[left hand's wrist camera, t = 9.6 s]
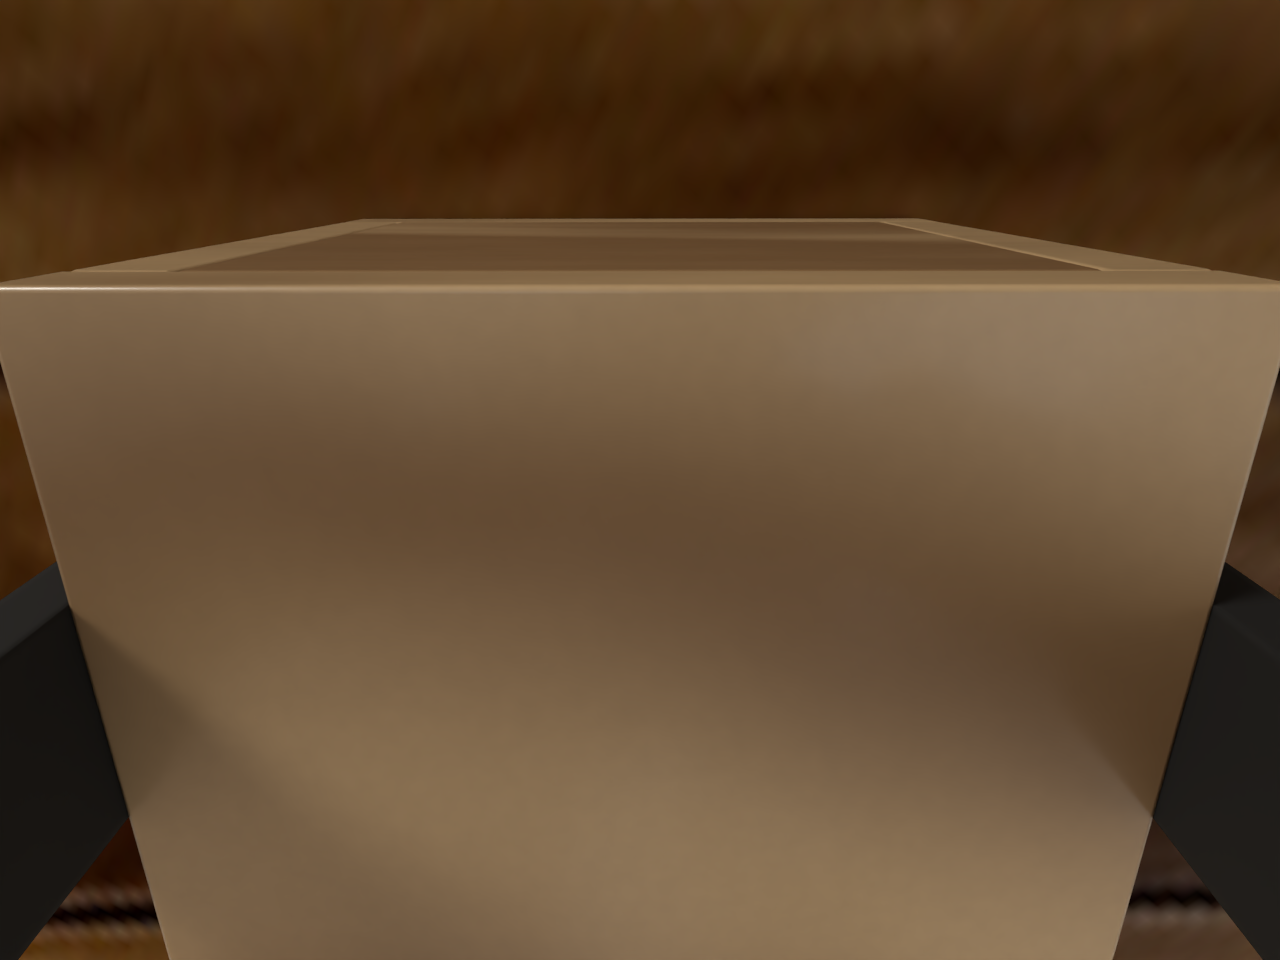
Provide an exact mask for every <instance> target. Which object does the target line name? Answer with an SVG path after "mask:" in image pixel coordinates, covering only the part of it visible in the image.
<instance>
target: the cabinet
mask: <svg viewBox="0 0 1280 960" xmlns="http://www.w3.org/2000/svg"><path fill="white" fill-rule="evenodd" d="M0 362H1V366H2V369H3V373H4V376H5V380H6V383H7V387H8V391H9V394H10V398H11V401H12V405H13V408H14V412H15V415H16V419H17V422H18V426H19V429H20V433H21V436H22V440H23V444H24V447H25V451H26V454H27V458H28V461H29V465H30V468H31V472H32V475H33V479H34V482H35V486H36V489H37V493H38V497H39V500H40V504H41V507H42V511H43V514H44V518H45V521H46V525H47V528H48V532H49V535H50V539H51V542H52V546H53V550H54V553H55V557H56V560H57V564H58V567H59V571H60V574H61V578H62V581H63V585H64V588H65V592H66V595H67V599H68V603H69V606H70V610H71V613H72V617H73V620H74V624H75V627H76V631H77V634H78V638H79V641H80V645H81V648H82V652H83V656H84V659H85V663H86V666H87V670H88V673H89V677H90V680H91V684H92V687H93V691H94V694H95V698H96V701H97V705H98V709H99V712H100V716H101V719H102V723H103V726H104V730H105V733H106V737H107V740H108V744H109V747H110V751H111V754H112V758H113V762H114V765H115V769H116V772H117V776H118V779H119V783H120V786H121V790H122V793H123V797H124V800H125V804H126V807H127V811H128V815H129V818H130V822H131V825H132V829H133V832H134V836H135V839H136V843H137V846H138V850H139V853H140V857H141V860H142V864H143V868H144V871H145V875H146V878H147V882H148V885H149V889H150V892H151V896H152V899H153V903H154V906H155V910H156V913H157V917H158V921H159V924H160V928H161V931H162V935H163V938H164V942H165V945H166V949H167V952H168V956H169V959H170V960H1113V957H1114V953H1115V950H1116V946H1117V943H1118V939H1119V936H1120V932H1121V929H1122V925H1123V921H1124V918H1125V914H1126V911H1127V907H1128V904H1129V900H1130V897H1131V893H1132V890H1133V886H1134V882H1135V879H1136V875H1137V872H1138V868H1139V865H1140V861H1141V858H1142V854H1143V850H1144V847H1145V843H1146V840H1147V836H1148V833H1149V829H1150V826H1151V822H1152V819H1153V815H1154V811H1155V808H1156V804H1157V801H1158V797H1159V794H1160V790H1161V787H1162V783H1163V779H1164V776H1165V772H1166V769H1167V765H1168V762H1169V758H1170V755H1171V751H1172V748H1173V744H1174V740H1175V737H1176V733H1177V730H1178V726H1179V723H1180V719H1181V716H1182V712H1183V708H1184V705H1185V701H1186V698H1187V694H1188V691H1189V687H1190V684H1191V680H1192V677H1193V673H1194V669H1195V666H1196V662H1197V659H1198V655H1199V652H1200V648H1201V645H1202V641H1203V637H1204V634H1205V630H1206V627H1207V623H1208V620H1209V616H1210V613H1211V609H1212V606H1213V602H1214V598H1215V595H1216V591H1217V588H1218V584H1219V581H1220V577H1221V574H1222V570H1223V566H1224V563H1225V559H1226V556H1227V552H1228V549H1229V545H1230V542H1231V538H1232V535H1233V531H1234V527H1235V524H1236V520H1237V517H1238V513H1239V510H1240V506H1241V503H1242V499H1243V495H1244V492H1245V488H1246V485H1247V481H1248V478H1249V474H1250V471H1251V467H1252V464H1253V460H1254V456H1255V453H1256V449H1257V446H1258V442H1259V439H1260V435H1261V432H1262V428H1263V424H1264V421H1265V417H1266V414H1267V410H1268V407H1269V403H1270V400H1271V396H1272V393H1273V389H1274V385H1275V382H1276V378H1277V375H1278V371H1279V368H1280V281H1276V280H1270V279H1264V278H1259V277H1253V276H1247V275H1241V274H1236V273H1230V272H1224V271H1211V270H1209V269H1205V268H1200V267H1194V266H1188V265H1182V264H1177V263H1171V262H1165V261H1159V260H1154V259H1148V258H1142V257H1136V256H1131V255H1125V254H1119V253H1113V252H1108V251H1102V250H1096V249H1090V248H1085V247H1079V246H1073V245H1067V244H1062V243H1056V242H1050V241H1044V240H1039V239H1033V238H1027V237H1021V236H1015V235H1010V234H1004V233H998V232H992V231H987V230H981V229H975V228H969V227H964V226H958V225H952V224H946V223H941V222H935V221H930V220H924V219H918V218H899V219H361V220H355V221H349V222H345V223H339V224H333V225H328V226H322V227H316V228H311V229H305V230H299V231H293V232H288V233H282V234H276V235H271V236H265V237H259V238H254V239H248V240H242V241H237V242H231V243H225V244H219V245H214V246H208V247H202V248H197V249H191V250H185V251H180V252H174V253H168V254H163V255H157V256H151V257H145V258H140V259H134V260H128V261H123V262H117V263H111V264H106V265H100V266H94V267H89V268H83V269H77V270H74V271H72V272H58V273H52V274H46V275H41V276H35V277H29V278H23V279H18V280H12V281H6V282H1V283H0Z"/></svg>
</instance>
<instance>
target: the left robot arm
mask: <svg viewBox="0 0 1280 960" xmlns="http://www.w3.org/2000/svg"><path fill="white" fill-rule="evenodd" d="M128 817H129V815H128V811H127V807H126V804H125V800H124V797H123V793H122V790H121V786H120V783H119V779H118V776H117V772H116V769H115V765H114V762H113V758H112V754H111V751H110V747H109V744H108V740H107V737H106V733H105V730H104V726H103V723H102V719H101V716H100V712H99V709H98V705H97V701H96V698H95V694H94V691H93V687H92V684H91V680H90V677H89V673H88V670H87V666H86V663H85V659H84V656H83V652H82V648H81V645H80V641H79V638H78V634H77V631H76V627H75V624H74V620H73V617H72V613H71V610H70V606H69V603H68V599H67V595H66V592H65V588H64V585H63V581H62V578H61V574H60V571H59V567H58V564H57V562H55V563H54V564H52V565H51V566H49V567H48V568H47V569H45V570H44V571H42V572H41V573H39V574H38V575H36V576H35V577H34V578H32V579H31V580H29V581H28V582H26V583H25V584H23V585H22V586H21V587H19V588H18V589H16V590H15V591H13V592H12V593H10V594H9V595H8V596H6V597H5V598H3V599H2V600H0V960H18V959H19V958H20V956H21V955H22V954H23V953H24V951H25V950H26V949H27V947H28V946H29V945H30V944H31V942H32V941H33V940H34V938H35V937H36V936H37V935H38V933H39V932H40V931H41V929H42V928H43V927H44V925H45V924H46V923H47V922H48V920H49V919H50V918H51V916H52V915H53V914H54V913H55V911H56V910H57V909H58V907H59V906H60V905H61V904H62V902H63V901H64V900H65V898H66V897H67V896H68V895H69V893H70V892H71V891H72V889H73V888H74V887H75V885H76V884H77V883H78V882H79V880H80V879H81V878H82V876H83V875H84V874H85V873H86V871H87V870H88V869H89V867H90V866H91V865H92V864H93V862H94V861H95V860H96V858H97V857H98V856H99V855H100V853H101V852H102V851H103V849H104V848H105V847H106V846H107V844H108V843H109V842H110V840H111V839H112V838H113V836H114V835H115V834H116V833H117V831H118V830H119V829H120V827H121V826H122V825H123V824H124V822H125V821H126V820H127V818H128ZM1153 818H1154V820H1155V821H1156V822H1157V824H1158V825H1159V826H1160V828H1161V829H1162V830H1163V831H1164V833H1165V834H1166V835H1167V837H1168V838H1169V839H1170V840H1171V842H1172V843H1173V844H1174V846H1175V847H1176V848H1177V849H1178V851H1179V852H1180V853H1181V855H1182V856H1183V857H1184V858H1185V860H1186V861H1187V862H1188V864H1189V865H1190V866H1191V867H1192V869H1193V870H1194V871H1195V873H1196V874H1197V875H1198V877H1199V878H1200V879H1201V880H1202V882H1203V883H1204V884H1205V886H1206V887H1207V888H1208V889H1209V891H1210V892H1211V893H1212V895H1213V896H1214V897H1215V898H1216V900H1217V901H1218V902H1219V904H1220V905H1221V906H1222V907H1223V909H1224V910H1225V911H1226V913H1227V914H1228V915H1229V916H1230V918H1231V919H1232V920H1233V922H1234V923H1235V924H1236V925H1237V927H1238V928H1239V929H1240V931H1241V932H1242V933H1243V935H1244V936H1245V937H1246V938H1247V940H1248V941H1249V942H1250V944H1251V945H1252V946H1253V947H1254V949H1255V950H1256V951H1257V953H1258V954H1259V955H1260V956H1261V958H1262V959H1263V960H1280V600H1279V599H1278V598H1276V597H1275V596H1274V595H1272V594H1271V593H1269V592H1268V591H1266V590H1265V589H1263V588H1262V587H1261V586H1259V585H1258V584H1256V583H1255V582H1253V581H1252V580H1250V579H1249V578H1248V577H1246V576H1245V575H1243V574H1242V573H1240V572H1239V571H1237V570H1236V569H1234V568H1233V567H1232V566H1230V565H1229V564H1227V563H1226V562H1225V563H1224V566H1223V570H1222V574H1221V577H1220V581H1219V584H1218V588H1217V591H1216V595H1215V598H1214V602H1213V606H1212V609H1211V613H1210V616H1209V620H1208V623H1207V627H1206V630H1205V634H1204V637H1203V641H1202V645H1201V648H1200V652H1199V655H1198V659H1197V662H1196V666H1195V669H1194V673H1193V677H1192V680H1191V684H1190V687H1189V691H1188V694H1187V698H1186V701H1185V705H1184V708H1183V712H1182V716H1181V719H1180V723H1179V726H1178V730H1177V733H1176V737H1175V740H1174V744H1173V748H1172V751H1171V755H1170V758H1169V762H1168V765H1167V769H1166V772H1165V776H1164V779H1163V783H1162V787H1161V790H1160V794H1159V797H1158V801H1157V804H1156V808H1155V811H1154V815H1153Z"/></svg>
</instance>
